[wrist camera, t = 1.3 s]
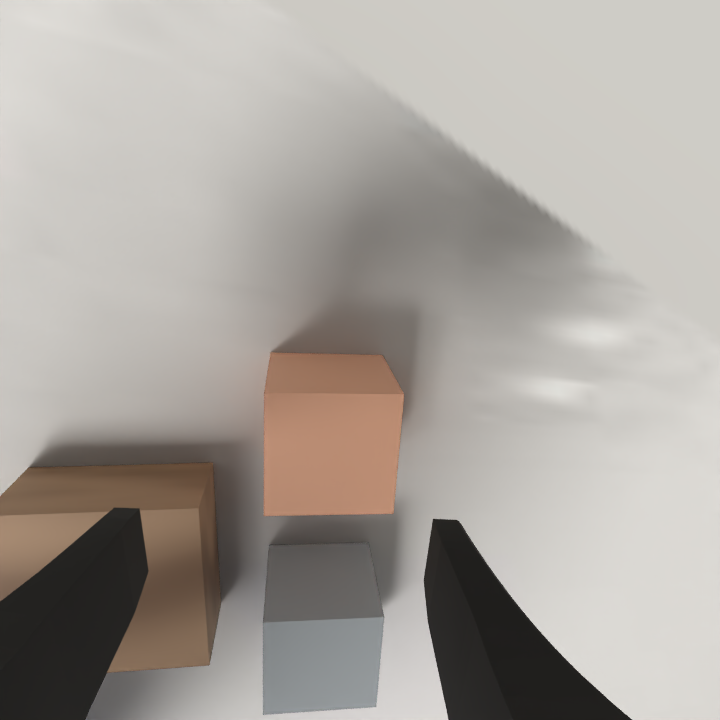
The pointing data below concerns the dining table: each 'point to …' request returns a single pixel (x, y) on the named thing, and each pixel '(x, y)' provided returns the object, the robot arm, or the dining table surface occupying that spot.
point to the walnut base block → (162, 543)
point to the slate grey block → (321, 628)
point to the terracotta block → (330, 434)
